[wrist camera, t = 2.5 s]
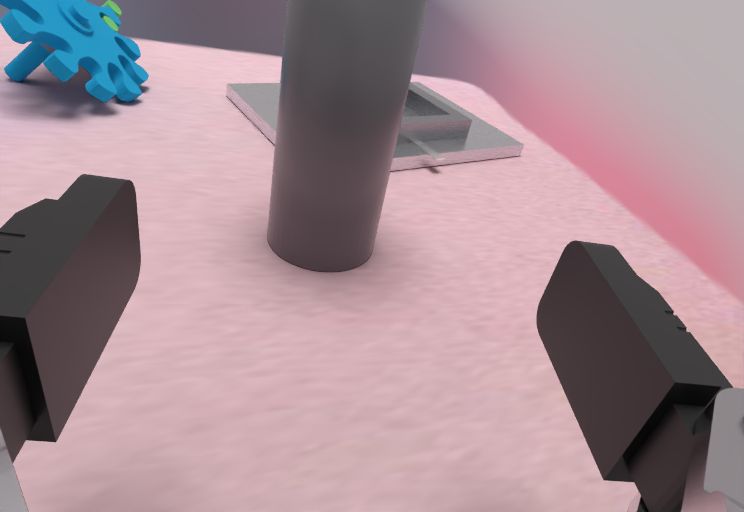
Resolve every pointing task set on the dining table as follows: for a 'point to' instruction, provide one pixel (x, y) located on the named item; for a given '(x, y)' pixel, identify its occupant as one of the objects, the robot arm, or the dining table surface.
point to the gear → (75, 45)
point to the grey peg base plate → (402, 127)
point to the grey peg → (338, 125)
